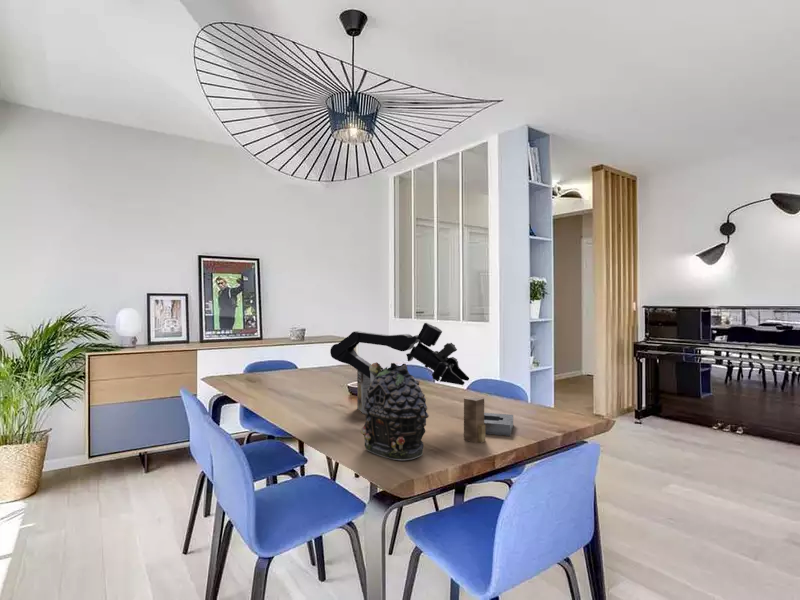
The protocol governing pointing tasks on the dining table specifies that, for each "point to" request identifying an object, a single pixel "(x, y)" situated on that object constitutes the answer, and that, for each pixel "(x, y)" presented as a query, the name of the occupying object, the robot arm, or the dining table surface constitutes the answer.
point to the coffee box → (362, 390)
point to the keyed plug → (474, 419)
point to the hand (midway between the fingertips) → (466, 381)
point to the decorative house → (394, 413)
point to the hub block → (498, 424)
